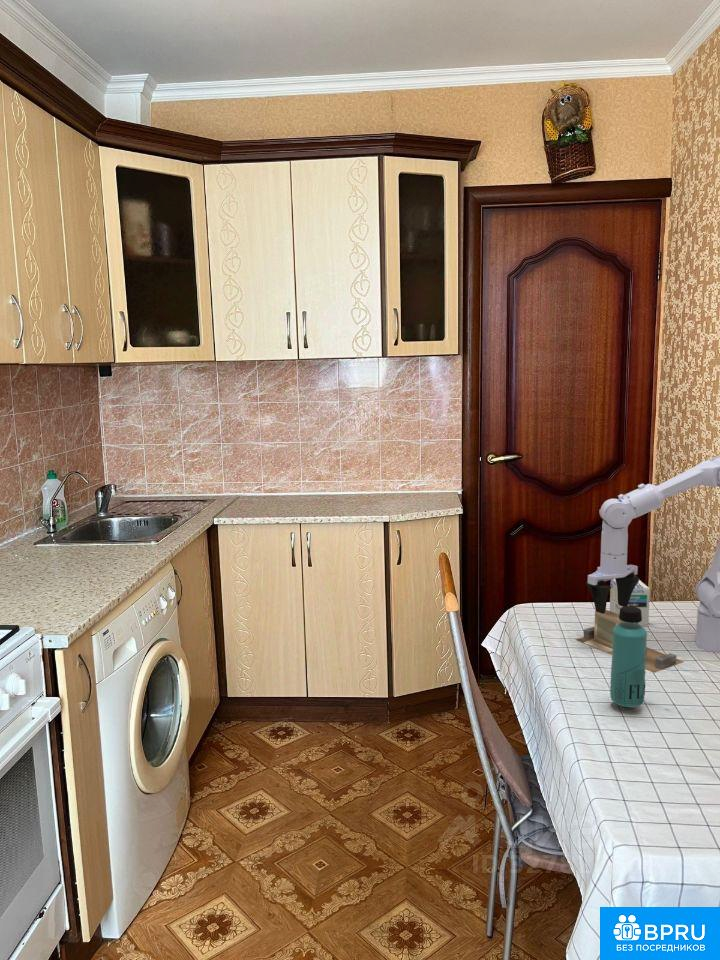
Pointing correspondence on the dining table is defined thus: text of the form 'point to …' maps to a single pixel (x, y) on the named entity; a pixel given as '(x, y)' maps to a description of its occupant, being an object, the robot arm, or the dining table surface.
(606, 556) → the robot arm
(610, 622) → the tall tan box
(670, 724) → the dining table surface
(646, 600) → the light bulb box
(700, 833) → the dining table surface
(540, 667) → the dining table surface
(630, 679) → the beverage bottle
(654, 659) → the brown board with blocks
